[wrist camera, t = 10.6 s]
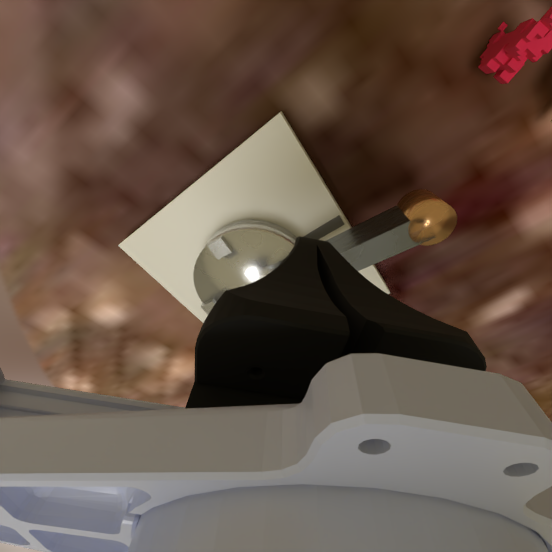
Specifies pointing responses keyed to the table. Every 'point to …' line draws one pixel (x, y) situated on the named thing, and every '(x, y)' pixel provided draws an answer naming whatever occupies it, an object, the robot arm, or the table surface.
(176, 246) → the cap plate
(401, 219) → the grey metal handled bowl
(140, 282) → the table surface
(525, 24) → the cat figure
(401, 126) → the table surface
